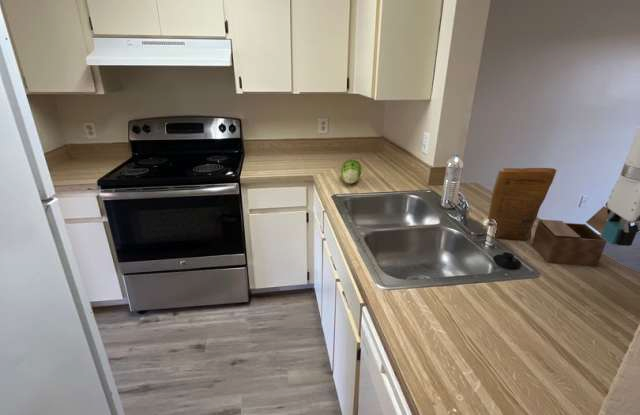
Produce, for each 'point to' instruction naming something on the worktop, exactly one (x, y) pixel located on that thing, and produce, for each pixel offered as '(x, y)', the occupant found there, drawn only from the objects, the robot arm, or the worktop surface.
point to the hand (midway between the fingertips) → (616, 239)
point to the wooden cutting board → (518, 200)
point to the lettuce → (351, 171)
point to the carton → (568, 243)
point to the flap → (600, 220)
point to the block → (612, 231)
